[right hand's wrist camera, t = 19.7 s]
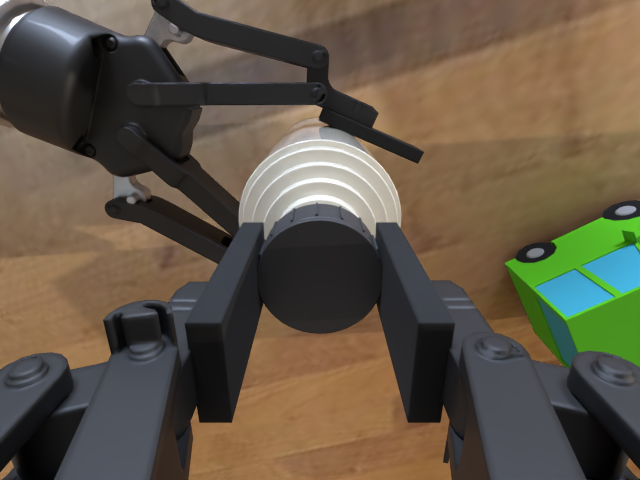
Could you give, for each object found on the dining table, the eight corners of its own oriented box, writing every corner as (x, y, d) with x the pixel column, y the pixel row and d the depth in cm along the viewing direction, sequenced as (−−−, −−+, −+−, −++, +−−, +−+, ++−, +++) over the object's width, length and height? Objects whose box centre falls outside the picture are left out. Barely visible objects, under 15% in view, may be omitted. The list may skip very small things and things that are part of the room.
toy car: (675, 271, 35) (806, 338, 25) (531, 333, 37) (603, 415, 28) (649, 173, 31) (789, 208, 22) (494, 248, 34) (561, 308, 24)
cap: (248, 217, 14) (238, 236, 12) (363, 190, 13) (370, 204, 12) (281, 316, 15) (276, 345, 14) (386, 293, 15) (394, 320, 13)
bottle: (310, 228, 33) (299, 394, 15) (253, 156, 31) (160, 250, 13) (385, 176, 32) (472, 292, 14) (330, 96, 29) (347, 107, 11)
